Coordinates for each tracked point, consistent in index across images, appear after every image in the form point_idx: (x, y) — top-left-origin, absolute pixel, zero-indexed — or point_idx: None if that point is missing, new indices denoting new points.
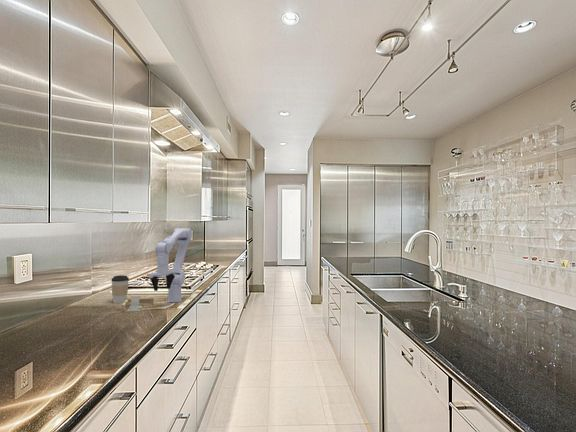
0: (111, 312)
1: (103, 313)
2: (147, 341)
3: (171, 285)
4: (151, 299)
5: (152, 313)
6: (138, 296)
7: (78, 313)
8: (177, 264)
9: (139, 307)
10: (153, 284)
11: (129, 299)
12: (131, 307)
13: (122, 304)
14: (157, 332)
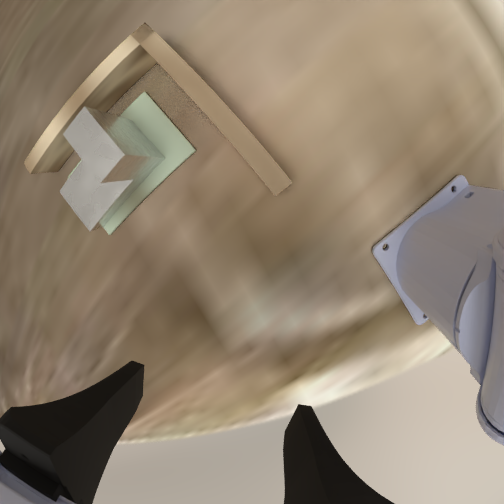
0: (35, 118)
1: (17, 106)
2: None
3: (470, 317)
4: (264, 181)
5: (124, 338)
6: (101, 168)
7: (3, 33)
8: None
9: (153, 172)
10: (89, 399)
11: (148, 44)
12: (67, 198)
13: (36, 144)
14: None
